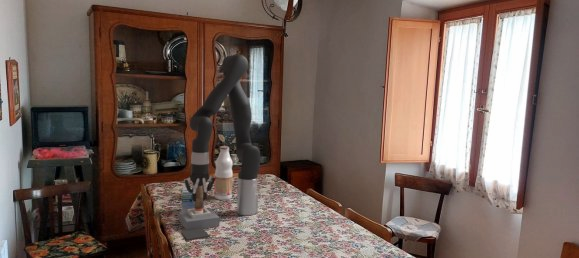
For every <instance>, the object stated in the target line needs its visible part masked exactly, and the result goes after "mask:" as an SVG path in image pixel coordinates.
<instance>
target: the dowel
mask: <svg viewBox="0 0 579 258" xmlns="http://www.w3.org/2000/svg"><path fill="white" fill-rule="evenodd" d="M203 192H204V187H203V185H199V186H197V189H196V202H195V209H202V208H203Z"/></svg>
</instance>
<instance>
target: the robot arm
mask: <svg viewBox="0 0 579 258" xmlns="http://www.w3.org/2000/svg"><path fill="white" fill-rule="evenodd" d="M221 68H222V72H223V76H224V77H223V78H222V80H221V81H220V82H219V83H218V84H217V85H215V87H213V89H212V90H210V92H209V94H208V96H207V97H206V99H205V101H204V102H203V103H202V105H201V106H200V107H199V108H198V109H197V111H196V112H195V113H194V114H193V115H192V117H191V118H190V122H189V128H190V129H191V130H192V131H193V132H197V134H196V135H197V136H196V137H195V138H193V139H192V143H191V144H192V145H191V146H192V147H191V156H190V175H189V177H188V178H183V182H184V185H185V188H187V191H188V192H189V193H190V192H191V193H192V200H193V201H194V202H196V189H197V186H199V185H203V187H204V192H203V201H206V200H207V199H208V198H207V194H208V192H210V191H211V190H212V189H213V185H215V176H211V175H210V174H209V171H210V168H209V167H210V153H209V151H210V146H209V145H210V140H211V137H212V132H213V129H214V127H213V125H214V124H213V121H212V119H211V117H214V116H215V115H217V114H218V112H219V110H221V107H222V106H223V103H224V102H225V100H226V99H227V96H228V101H229V107H230V114H231V119H232V124H233V131H234V135H235V153H236V157H237V160H239V161H240V162H241V169H240V170H239V171H238V173H237V179H238V180H237V195H236V196H237V198H236V200H237V201H236V203H237V204H236V214H238V215H240V216H253V215H255V214H258V213H259V212H258V211H259V193H258V175H259V173H260V170H261V169H260V167H261V151H260V149H259V147H257V146H255V145H253V143H252V139H251V135H250V129H251V124H252V118H253V117H252V109H251V108H252V107H251V103H250V100H249V98H248V96H247V94H246V93H245V91H244V89H243V87H242V84H241V79H242V77H243V76H244V75H245V74H246V72H247V70H248V68H249V61H248V59H247V57H245V55H242V54H233V55H232V54H231V55H230V54H229V55H227V56H224V58H223V60H222V62H221ZM191 182H192V185H191V186H190V183H191ZM207 182H208V184H207ZM191 188H192V189H191Z"/></svg>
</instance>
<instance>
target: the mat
mask: <svg viewBox="0 0 579 258" xmlns="http://www.w3.org/2000/svg"><path fill="white" fill-rule="evenodd" d="M180 233H181V235H183V237H184V239H185V241H192V240H193V241H194V240H198V239H205V238H210V235H209V234H208V232H207V231H206V230H205V228H204V229H203V228H200V229H193V230H186V229H185V230H182V231H181V232H180Z"/></svg>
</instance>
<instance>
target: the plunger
mask: <svg viewBox="0 0 579 258" xmlns="http://www.w3.org/2000/svg"><path fill="white" fill-rule="evenodd" d="M198 213H203V208H202V209H195V214H198Z"/></svg>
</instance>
